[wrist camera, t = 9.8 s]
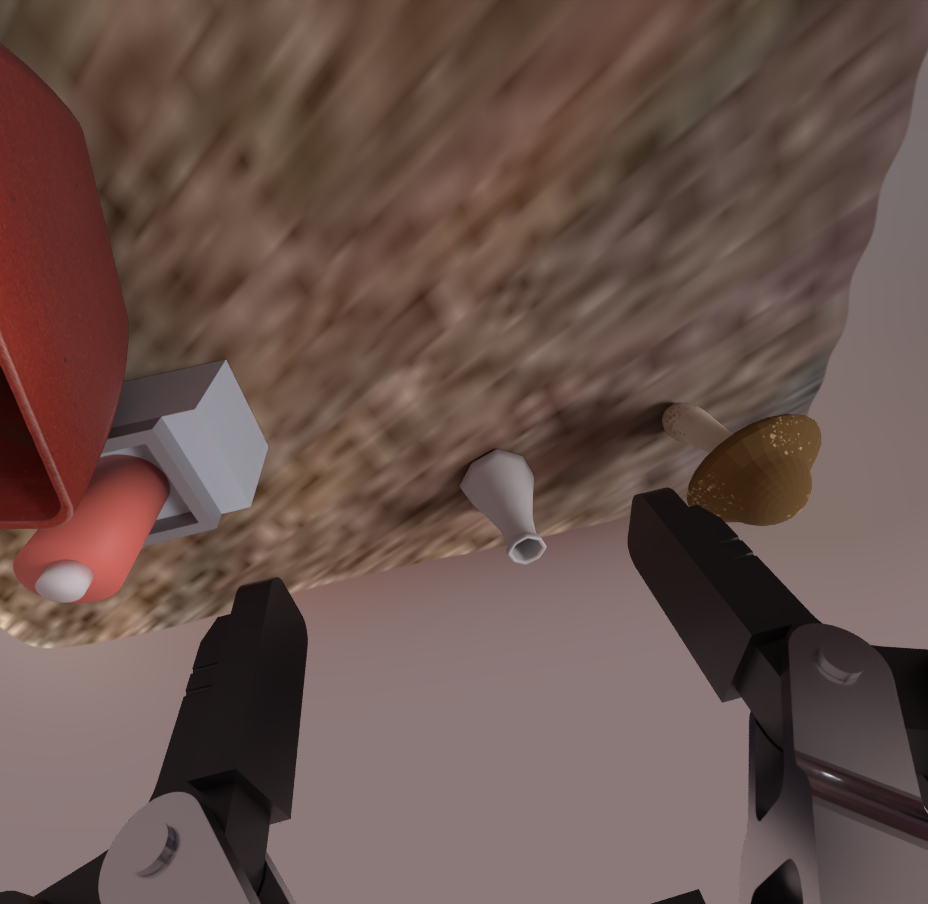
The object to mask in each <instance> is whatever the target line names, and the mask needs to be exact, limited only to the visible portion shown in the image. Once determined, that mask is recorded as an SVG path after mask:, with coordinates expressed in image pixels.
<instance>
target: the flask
mask: <svg viewBox="0 0 928 904" xmlns="http://www.w3.org/2000/svg"><path fill="white" fill-rule="evenodd" d="M533 486H534V474H533V473H532V471H531V469H530V468H529V466H528V464H527V462H526V461H525V459H524V457H523V456H521V455H517V454H514V453H511V452H507V451H504V450H500V449H496V450H494V451H492V452H490V453H489V454H487V455H485V456H483V457H482V458H480V459H478V460H476V461H475V462H473V463H471V465H470V467H469V469H468V471H467V472H466V474H465V476H464V478H463V480H462V482H461V484H460V486H459V487H460V488H461V490H462V491H463V492H464V494H465V495H466V496H467V498H468V499H469V500H470V502H471V503H472V504H473V505H474V506H475V507H476V508H477V509H478V510H479V511H480V512H481V513H482V514H484V515H485V516H486V517H487V518H488V519H489V520H490V521H491V522H492V523H493V524H494V525H495V526H496V527H497V528H498V529H499V530H500V531H501V533H502V534H503V536H504V538H505V540H506V543H507V546H508V547H507V549H506V553H507V555H508V556H509V557H510V559H511V560H512V561H513V562H514V563H519V564H524V565H527V564H529V563H531V562H533V561H534V560H536V559H538V558H540V556H541V555H542V553H543V552H544V550H545V549H546V545H545V543H544V542H543V540H542V539H541V537H540V536H539V535H538V534H536V531H535V527H534V522H533V517H532V509H533Z"/></svg>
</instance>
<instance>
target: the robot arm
mask: <svg viewBox="0 0 928 904" xmlns="http://www.w3.org/2000/svg"><path fill="white" fill-rule="evenodd" d="M628 549H629V553H630V556H631V559H632V561H633V563H634V565H635V567H636V569H637V570H638V572H639V573H640V575H641V576H642V578H643V579H644V581H645V583H646V584H647V586H648V587H649V589H650V590H651V592H652V594H653V595H654V597H655V598H656V600H657V601H658V603H659V605H660V606H661V608H662V609H663V611H664V612H665V614H666V615H667V617H668V619H669V620H670V622H671V623H672V625H673V626H674V628H675V630H676V631H677V632H678V634H679V636H680V637H681V639H682V641H683V642H684V644H685V645H686V647H687V648H688V650H689V651H690V653H691V655H692V656H693V658H694V659H695V661H696V662H697V664H698V665H699V667H700V669H701V670H702V672H703V673H704V675H705V676H706V678H707V680H708V681H709V683H710V684H711V686H712V687H713V689H714V691H715V692H716V694H717V695H718V697H719V698H720V700H721V701H722V702H726V701H729V700H734V699H737V698H740V697H742V698H743V700H744V701H745V703H746V704H747V706H748V707H749V709H750V710H751V712H750V716H749V774H748V775H749V777H748V779H749V780H748V824H747V832H746V837H745V840H744V844H743V849H742V856H741V865H740V889H739V904H928V814H927V812H926V810H925V808H926V809H927V810H928V650H926V649H911V648H896V647H882V646H874V645H870V644H869V643H867V642H866V641H865V640H863V639H862V638H860V637H859V636H857V635H855V634H853V633H851V632H849V631H847V630H844V629H842V628H839V627H836V626H833V625H828V624H822V623H821V622H820V621H819V620H817V619H816V618H815V617H814V616H813V615H812V614H811V613H810V612H809V611H808V610H807V609H806V608H805V607H804V605H803V604H802V603H801V602H800V601H799V600H798V599H797V598H796V597H795V596H794V595H793V594H792V593H791V592H790V591H789V590H788V589H787V587H786V586H785V585H784V584H783V583H782V582H781V581H780V580H779V579H778V578H777V577H776V576H775V575H774V574H773V573H772V572H771V570H770V569H769V568H768V567H767V566H766V565H765V564H764V563H763V562H762V561H761V560H760V559H759V558H758V557H757V556H754V555H753V552H752V550H751V549H750V548H749V547H748V546H747V545H746V544H745V543H744V542H743V541H742V540H741V541H740V540H739V538H738V535H736V533H734V531H733V530H732V529H731V528H730V527H729V526H728V525H727V524H726V523H725V522H724V521H723V520H722V519H721V518H720V517H718V516H716V515H715V514H713V513H711V512H710V511H708V510H706V509H704V508H703V507H701V506H699V505H694V506H690V507H688V506H687V505H686V503H685V502H684V501H683V500H682V499H681V498H680V497H679V496H678V494H677V493H676V492H675V491H674V490H672V489H671V488H663V489H658V490H654V491H650V492H646V493H641V494H637V495H635V496H634V497H633V501H632V508H631V516H630V525H629V533H628ZM307 646H308V637H307V629H306V624H305V621H304V618H303V616H302V615H301V613H300V611H299V609H298V607H297V606H296V604H295V602H294V600H293V599H292V597H291V595H290V593H289V592H288V590H287V588H286V586H285V585H284V583H283V581H282V580H281V579H280V578H279V577H275V578H271V579H267V580H262V581H258V582H254V583H250V584H245V585H242V586H240V587H239V589H238V590H237V593H236V596H235V600H234V604H233V607H232V611H231V614H229V615H225V616H221V617H218V618H217V619H216V621H215V622H214V623H213V625H212V626H211V628H210V629H209V631H208V632H207V634H206V635H205V637H204V638H203V640H202V641H201V643H200V646H199V649H198V652H197V655H196V659H195V662H194V665H193V674H191V675H190V678H189V681H188V685H187V688H186V696H185V697H184V698H183V701H182V704H181V707H180V710H179V714H178V717H177V720H176V723H175V727H174V730H173V733H172V736H171V740H170V743H169V746H168V749H167V752H166V756H165V759H164V762H163V766H162V769H161V772H160V775H159V778H158V781H157V784H156V787H155V790H154V792H153V794H152V796H151V798H150V800H149V803H148V804H146V805H145V806H144V807H142V808H141V809H140V810H139V811H137V812H136V813H135V814H134V815H133V816H132V817H131V818H130V819H129V820H128V822H127V823H126V824H125V825H124V826H123V828H122V829H121V830H120V832H119V833H118V835H117V836H116V837H115V839H114V841H113V842H112V844H111V846H110V848H109V849H108V850H107V851H105V852H104V853H103V854H101V855H100V856H98V857H97V858H95V859H94V860H92V861H90V862H89V863H87V864H85V865H84V866H82V867H80V868H79V869H77V870H76V871H74V872H72V873H71V874H69V875H68V876H66V877H64V878H63V879H61V880H60V881H58V882H56V883H55V884H53V885H51V886H50V887H48V888H47V889H45V890H43V891H42V892H40V893H39V894H37V895H35V896H34V897H33V896H30V895H26V894H23V893H20V892H17V891H5V892H0V904H297V903H296V902H295V900H294V898H293V896H292V895H291V893H290V891H289V889H288V888H287V886H286V884H285V882H284V881H283V879H282V877H281V875H280V874H279V872H278V870H277V868H276V867H275V865H274V863H273V861H272V860H271V858H270V856H269V854H268V853H267V852H266V848H267V841H268V832H269V825H270V824H273V823H277V822H281V821H284V820H288V819H291V809H292V799H293V788H294V778H295V768H296V758H297V747H298V737H299V728H300V718H301V708H302V697H303V687H304V677H305V667H306V657H307ZM924 806H925V808H924ZM652 904H705V902H704V899H703V897H702V895H701V893H700V891H699V889H698V890H694V891H691V892H688V893H685V894H682V895H678V896H675V897H672V898H668V899H665V900H662V901H659V902H655V903H652Z"/></svg>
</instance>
